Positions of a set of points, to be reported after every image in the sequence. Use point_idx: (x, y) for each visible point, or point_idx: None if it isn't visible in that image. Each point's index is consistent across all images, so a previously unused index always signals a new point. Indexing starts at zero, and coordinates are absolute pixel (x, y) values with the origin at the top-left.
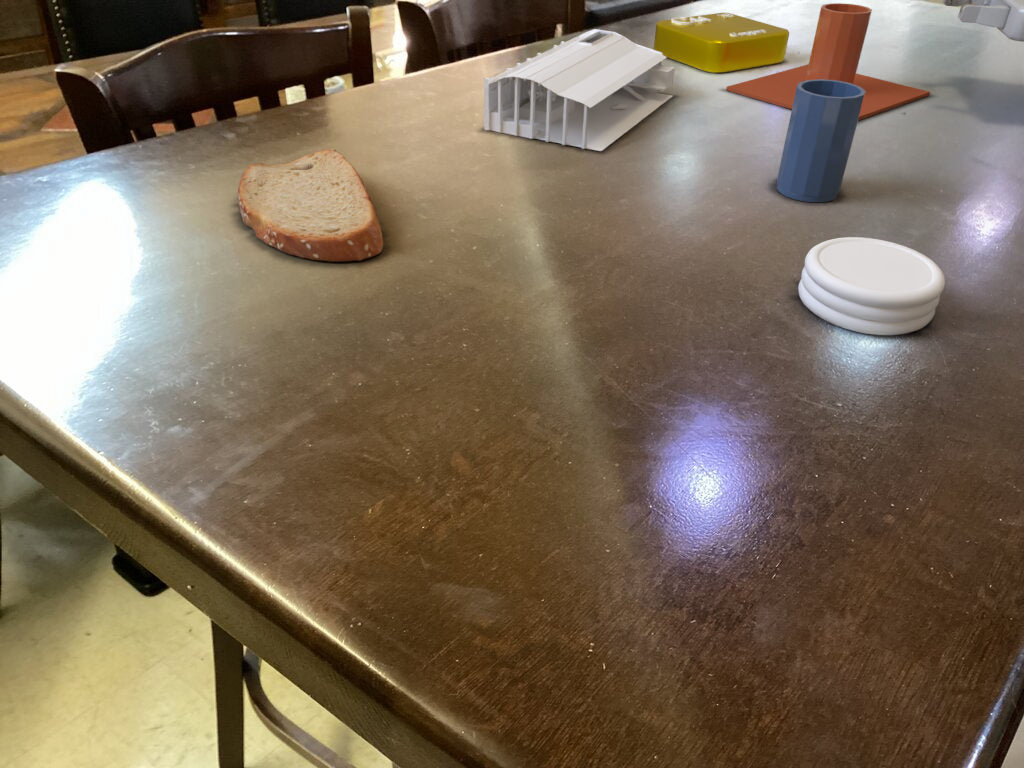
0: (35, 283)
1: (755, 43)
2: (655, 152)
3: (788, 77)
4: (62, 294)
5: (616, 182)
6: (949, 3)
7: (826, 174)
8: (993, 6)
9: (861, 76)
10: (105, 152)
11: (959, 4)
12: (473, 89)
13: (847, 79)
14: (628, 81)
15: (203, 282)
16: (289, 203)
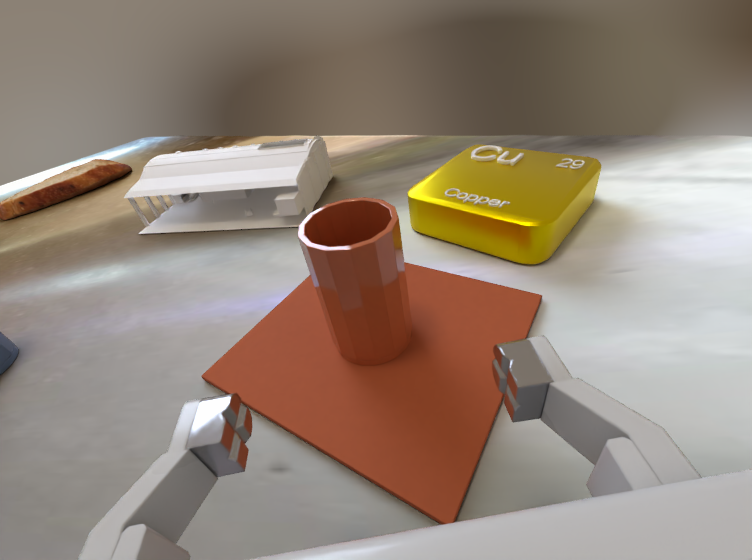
0: (34, 176)
1: (460, 216)
2: (131, 257)
3: (418, 284)
4: (20, 182)
5: (69, 256)
6: (497, 383)
7: None
8: (133, 504)
9: None
10: (171, 136)
11: (551, 425)
12: None
13: (336, 339)
14: (199, 191)
15: None
16: (52, 182)
